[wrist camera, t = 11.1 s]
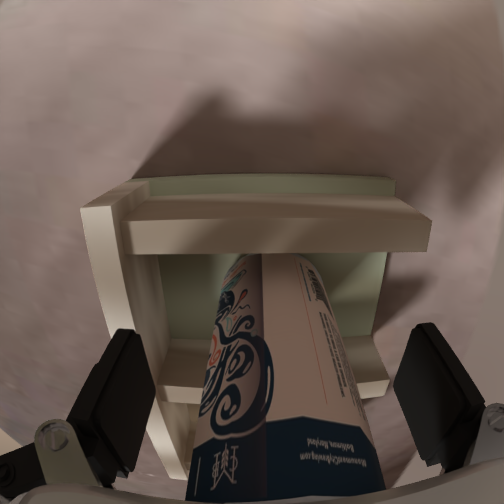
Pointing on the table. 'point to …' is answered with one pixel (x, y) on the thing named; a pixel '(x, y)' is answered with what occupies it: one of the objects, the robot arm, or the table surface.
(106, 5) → the table surface
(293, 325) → the beer can
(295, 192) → the comb rack
